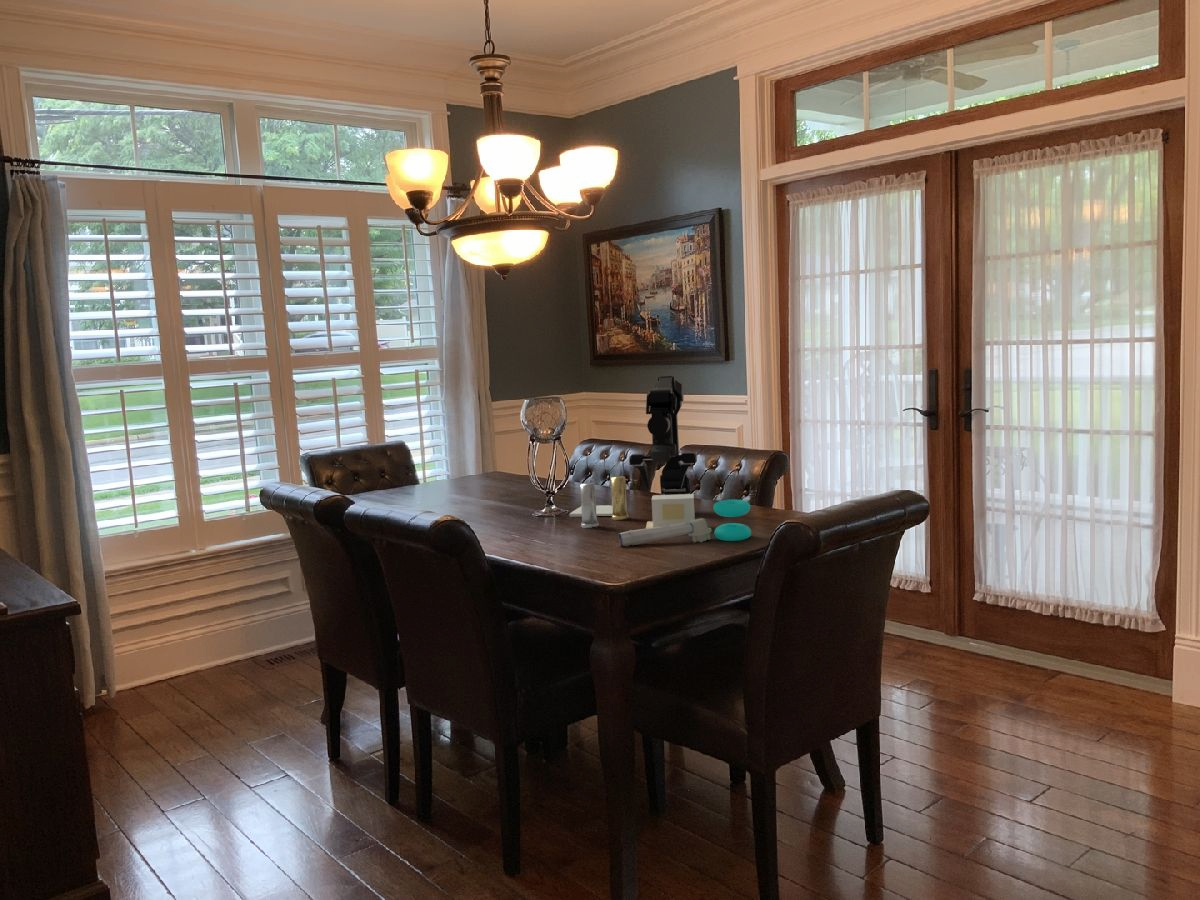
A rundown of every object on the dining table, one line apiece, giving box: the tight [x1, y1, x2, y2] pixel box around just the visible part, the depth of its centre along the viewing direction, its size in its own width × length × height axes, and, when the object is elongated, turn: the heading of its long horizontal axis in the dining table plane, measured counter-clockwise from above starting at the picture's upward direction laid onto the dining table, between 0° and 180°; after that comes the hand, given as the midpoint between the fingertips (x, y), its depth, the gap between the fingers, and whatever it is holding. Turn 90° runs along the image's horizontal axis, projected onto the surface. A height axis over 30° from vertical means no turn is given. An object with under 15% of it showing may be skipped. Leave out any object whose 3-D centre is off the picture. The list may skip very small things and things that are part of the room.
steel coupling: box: [579, 482, 599, 529], centre depth 285 cm, size 5×5×13 cm
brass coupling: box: [610, 475, 629, 521], centre depth 295 cm, size 5×5×13 cm
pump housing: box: [645, 493, 696, 529], centre depth 278 cm, size 12×16×9 cm
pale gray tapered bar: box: [617, 517, 713, 547], centre depth 259 cm, size 5×7×25 cm
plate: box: [568, 504, 613, 518], centre depth 308 cm, size 14×14×1 cm
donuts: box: [712, 499, 752, 542], centre depth 260 cm, size 10×10×10 cm
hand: (664, 488), depth 270 cm, fingers open, 9 cm apart
